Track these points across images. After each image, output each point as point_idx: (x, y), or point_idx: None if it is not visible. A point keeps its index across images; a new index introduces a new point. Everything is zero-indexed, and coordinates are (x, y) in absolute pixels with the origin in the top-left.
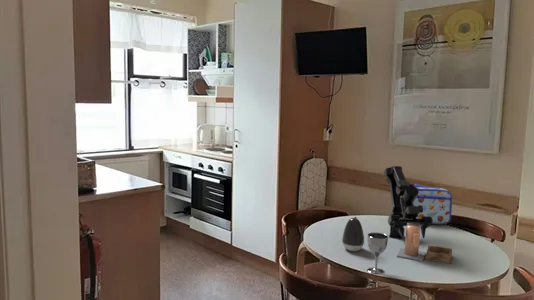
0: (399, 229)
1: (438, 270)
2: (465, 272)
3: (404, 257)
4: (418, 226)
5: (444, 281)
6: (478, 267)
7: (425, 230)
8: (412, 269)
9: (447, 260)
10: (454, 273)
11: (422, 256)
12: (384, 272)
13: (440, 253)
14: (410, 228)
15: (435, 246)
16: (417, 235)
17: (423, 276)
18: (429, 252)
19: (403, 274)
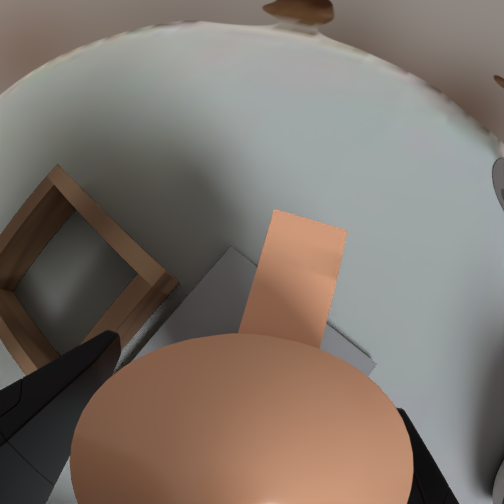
0: (444, 497)
1: (224, 113)
2: (108, 87)
3: (334, 331)
4: (114, 449)
5: (278, 35)
6: (13, 135)
7: (23, 378)
8: (368, 154)
9: (83, 190)
10: (168, 79)
11: (186, 314)
12: (494, 165)
13: (86, 212)
14: (381, 401)
15: (27, 360)
16: (297, 220)
17: (348, 82)
18: (148, 256)
19: (429, 124)
